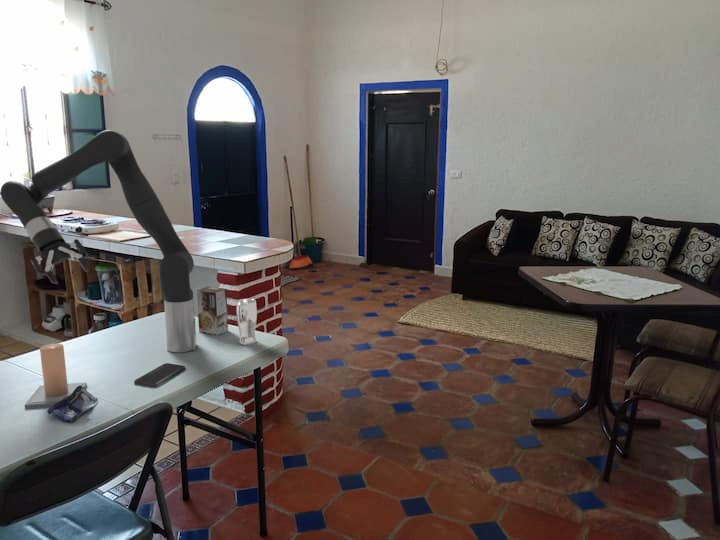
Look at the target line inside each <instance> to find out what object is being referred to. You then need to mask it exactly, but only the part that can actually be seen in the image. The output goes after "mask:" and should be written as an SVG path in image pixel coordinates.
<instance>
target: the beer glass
mask: <svg viewBox="0 0 720 540" xmlns="http://www.w3.org/2000/svg"><path fill="white" fill-rule="evenodd" d="M235 308H236V309H235V310H236V320H237V326H238V330H239V336H238V343H240V345H242V344H243V345H242V346H250V345H254V344H256V343H257V338H256V337H257V336H256V327H257V318H258V311H257V310H258V308H257V301H256V299H254V298H241V299H238V300H236V307H235Z"/></svg>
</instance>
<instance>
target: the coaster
mask: <svg viewBox="0 0 720 540" xmlns="http://www.w3.org/2000/svg"><path fill="white" fill-rule="evenodd" d="M67 384H68V392H67V393H66V394H64V395H61V396H57V397H47V396H46V395H45V389H44V384H43V385H39V386H38V388H37V389H36V390H35V392H33V393H32V395H30V398H29V399H28V400H27V401H26V402H25V404H24V409H35V408H36V409H38V408H47V407H48V408H50V407H52V406H53V405H54V404H55V403H57V402H60V401H61V400H63V399H64V398H65V397H67V396H69V395H71V394H72V393H73V391H74V390H75V389H76V387H78V386H82V387H83V388H85V389H86V388H87V386H88V384H87V382H75V383H74V382H73V383H67ZM70 393H71V394H70Z"/></svg>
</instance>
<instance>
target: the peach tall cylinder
mask: <svg viewBox="0 0 720 540" xmlns="http://www.w3.org/2000/svg"><path fill="white" fill-rule="evenodd" d="M39 353H40V354H39V355H40V362H41V363H40V364H41V369H42V370H41V372H42V379H43V385H44V389H45V395H46V396H47V397H57V396H61V395H64V394H66V393H67V392H68V384H69V383H68V376H67V375H68V374H67V368H66V367H67V366H66V358H65V357H66V356H65V349H64V345H63V344H62V343H50V344H45V345H43V346H41V347H39Z"/></svg>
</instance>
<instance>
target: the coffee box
mask: <svg viewBox="0 0 720 540" xmlns="http://www.w3.org/2000/svg"><path fill="white" fill-rule="evenodd" d="M227 295H228V293H227V288H221V287H215V286H214V287H213V286H204V287H202V288H199V289H197V290H196V302H197V303H196V304H197V316H198V317H197V318H198V332H199V331H200V332H199V333H203V332H206V333H205V334H209V333H211V334H210V335H214V334H216V335H215V336H220V335H222V334H224V333H227V332H228V331H229V319H228V318H229V316H228V298H227V297H228V296H227ZM221 333H222V334H221ZM219 334H220V335H219Z"/></svg>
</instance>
